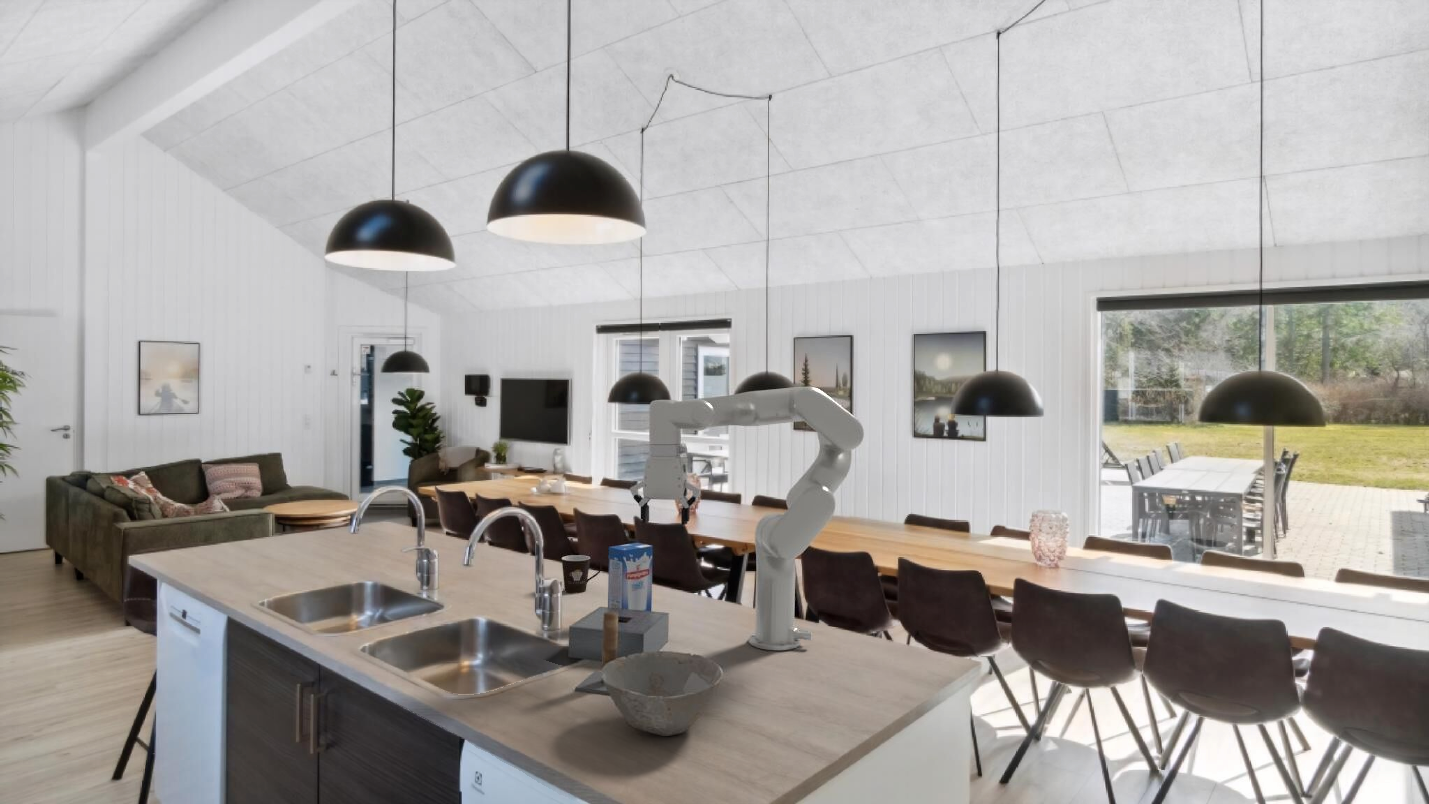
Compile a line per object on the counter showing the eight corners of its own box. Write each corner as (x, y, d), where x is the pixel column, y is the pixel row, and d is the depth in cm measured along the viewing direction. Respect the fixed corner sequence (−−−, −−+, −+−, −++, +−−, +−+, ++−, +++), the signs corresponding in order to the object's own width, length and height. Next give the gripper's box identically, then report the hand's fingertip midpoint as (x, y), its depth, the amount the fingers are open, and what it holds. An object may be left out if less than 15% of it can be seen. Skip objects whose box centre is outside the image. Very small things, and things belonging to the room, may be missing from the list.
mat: (639, 678, 165) (639, 676, 165) (621, 696, 155) (621, 693, 155) (595, 673, 167) (595, 671, 167) (575, 690, 157) (575, 687, 157)
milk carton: (636, 615, 212) (637, 542, 212) (651, 620, 208) (652, 545, 208) (607, 622, 205) (608, 546, 205) (622, 627, 201) (623, 550, 201)
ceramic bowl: (620, 764, 126) (622, 702, 126) (585, 711, 147) (586, 658, 147) (744, 742, 135) (745, 684, 135) (694, 695, 156) (695, 645, 156)
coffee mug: (556, 593, 235) (557, 560, 235) (566, 586, 243) (567, 554, 243) (593, 595, 233) (594, 562, 233) (602, 588, 242) (603, 556, 242)
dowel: (618, 680, 162) (620, 612, 162) (612, 684, 159) (615, 616, 159) (604, 678, 163) (607, 611, 163) (598, 683, 160) (601, 614, 160)
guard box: (668, 641, 190) (668, 612, 190) (643, 665, 173) (643, 634, 173) (599, 634, 195) (600, 606, 195) (568, 657, 177) (569, 626, 177)
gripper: (704, 451, 187) (704, 522, 187) (635, 450, 191) (635, 519, 191) (696, 453, 180) (696, 527, 180) (625, 452, 184) (625, 524, 184)
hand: (665, 523), depth 186 cm, fingers open, 9 cm apart
